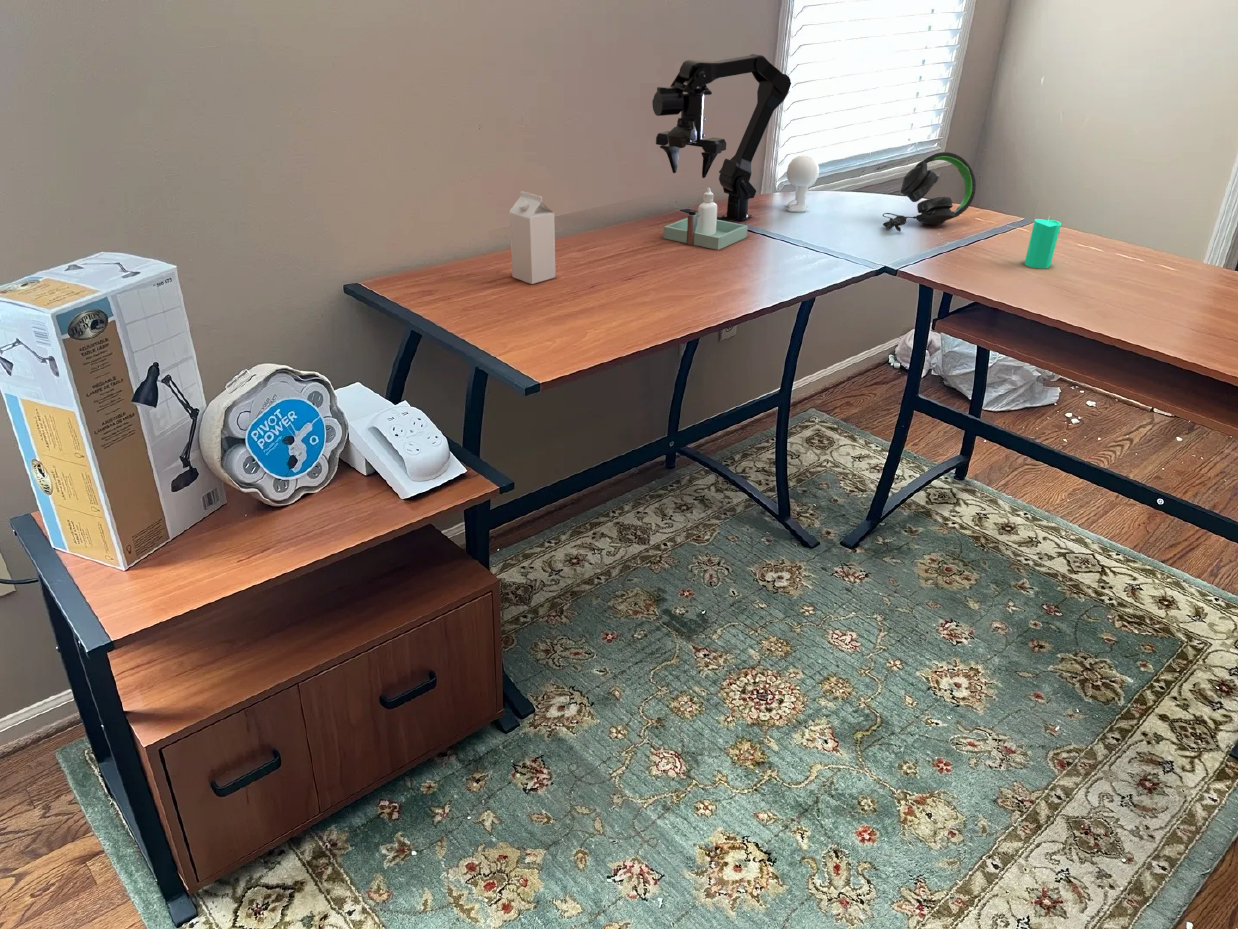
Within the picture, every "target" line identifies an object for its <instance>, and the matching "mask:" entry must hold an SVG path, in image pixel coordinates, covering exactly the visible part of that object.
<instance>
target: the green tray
mask: <svg viewBox="0 0 1238 929" xmlns="http://www.w3.org/2000/svg"><path fill="white" fill-rule="evenodd" d="M697 220H698V217H697V218H696V232H695V233H694V245H693V246H698V247H702V248H706V249H711V250H715V251H716V250H717V251H719V250H722V249H723V248H726V247H728V246H730V245H732V244H734V243H737V242H739V241H742V240H744V239H746V238H748V228H749V227H748V225H747V224H742V223H736V222H731V221H727V220H721V219H717V222H716V233H715V234H714V235H707V234H702V233H697ZM687 222H688V217H685V218H682V219H680V220H678V221H675V222H672V223H669V224H667V225H664V226H663V239H665V240H670V241H675V242H679V243H684V244H686V242H687Z"/></svg>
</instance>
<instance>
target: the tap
mask: <svg viewBox="0 0 1238 929" xmlns="http://www.w3.org/2000/svg"><path fill="white" fill-rule="evenodd" d="M699 216H700V213H699V212H698V211H697V210H694V209H689V210H688V213H687V218H688V222H687V242H686V243H685V244H686V245H687V246H695V245H694V233H695V232H696V218H697V217H699Z"/></svg>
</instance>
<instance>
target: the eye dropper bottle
mask: <svg viewBox="0 0 1238 929" xmlns="http://www.w3.org/2000/svg"><path fill="white" fill-rule="evenodd" d="M697 212H699V213H700V216H699V217H698V220H697V233H702V234H707V235H714V234H715V233H716V222H717V220H718V204H717V203H716V202H714V193H713V192H712V190H711V187H707V189H706V192H704V193H703V202H701V203H700V204H699V206H698V208H697Z"/></svg>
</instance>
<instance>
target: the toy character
mask: <svg viewBox="0 0 1238 929" xmlns="http://www.w3.org/2000/svg"><path fill="white" fill-rule="evenodd" d="M819 174H820V167H819V164H818V162H817V160H816V159H815V158H813V157H812V156H809V155H798V156H795V157H794V158H793V159H791V161H790V162H789V164H788V165H787V169H786V179H787V181H788V183H789V184H790V185H792V186H793V187H794V188H795V190H794V199H793V200H790V201H789V202H787V204H786V207H787V208H788V209H787V211H788V212H793V213H794V212H797V213H798V212H799V213H800V212H801V213H802V212H807V204H806V198H807V193H808V189H809V188H810V187H812V186H813V185H814V184H815V183H816V181H817V180H818V177H819Z"/></svg>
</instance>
